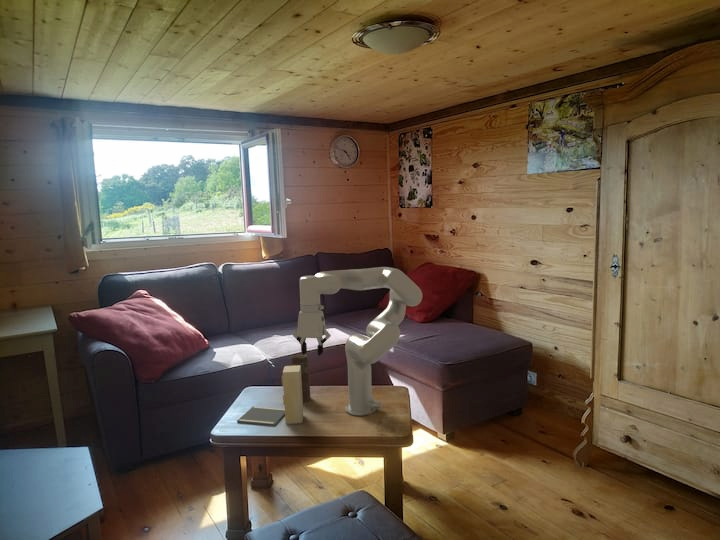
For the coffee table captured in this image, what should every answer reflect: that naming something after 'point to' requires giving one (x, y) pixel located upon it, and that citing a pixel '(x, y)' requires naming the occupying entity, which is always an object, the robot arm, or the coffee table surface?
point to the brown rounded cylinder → (303, 374)
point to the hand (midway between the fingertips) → (312, 353)
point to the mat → (262, 416)
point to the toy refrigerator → (292, 394)
